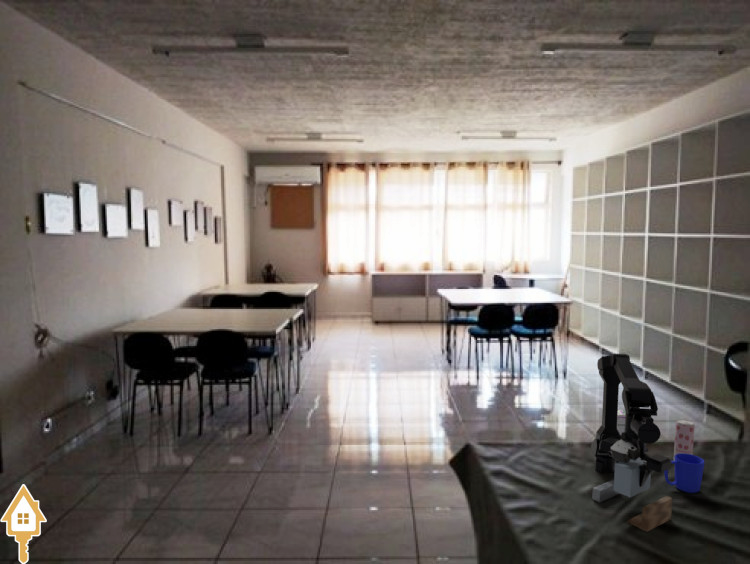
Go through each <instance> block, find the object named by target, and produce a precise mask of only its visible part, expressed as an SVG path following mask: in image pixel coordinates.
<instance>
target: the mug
mask: <svg viewBox="0 0 750 564" xmlns="http://www.w3.org/2000/svg"><path fill="white" fill-rule="evenodd" d="M673 459H675V461H673V460H671V462H672V465H674V481H673V482H671V481H670V480H669V475H668V473H669V471H668V470H669V469H668V470H666V471H663V472H664V473H663V474H664V478H665V482H666V483H667V484H668V485H670V486H675V487H676V488H677V489H678V490H679V491H682V492H685V493H687V494H688V493H690V494H695V493H699V491H700V490H701V487H702V486H701V485H702V480H703V473H704V468H705V460H704V459H703V458H701V457H700V456H697V455H694V454H693V455H691V454H684V453H680V454H676V455H675V456H674V455H673Z"/></svg>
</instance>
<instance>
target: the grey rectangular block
mask: <svg viewBox="0 0 750 564" xmlns="http://www.w3.org/2000/svg"><path fill="white" fill-rule="evenodd" d="M620 494H621V493H618V492H616V491H614V479H611V480H609V481H606V482H604V483H602V484H599V485H596V486H593V487H592V494H591V495H592V497H591V499H592V500H593V501H595V502H597V503H601V502H605V501H606V500H608V499H611V498H613V497H615V496H618V495H620Z"/></svg>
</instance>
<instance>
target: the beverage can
mask: <svg viewBox="0 0 750 564" xmlns="http://www.w3.org/2000/svg"><path fill="white" fill-rule="evenodd" d="M674 433H675V434H674V435H675V436H674V447H673V448H674V449H673V457H674V456H675V455H676V454H680V453H684V454H691V455H694V452H693V451H694V439H695V423H694V421H691V420H688V419H683V418H682V419H677V420H676V423H675V432H674ZM672 461H675V459H674V458H673V460H672Z"/></svg>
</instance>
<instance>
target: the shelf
mask: <svg viewBox="0 0 750 564" xmlns="http://www.w3.org/2000/svg"><path fill="white" fill-rule="evenodd" d="M672 506H673V498H672V497H670V496H668V495H666V496H664V497H663V496H662V498H660V499H657V500H654V501H653V502H651V503H649V504H647V505H645V506H642V512H641V513H639V514H638V515H636V516H634V517H632V518H628V519H627V520H625V523H628V524H630V525H632V526H634V527H636V528H638V529H641V530H643V531H645V532H646V533H648V532H650V531H651V530H653V529H656V528H657V527H659V526H661V525H663V524H665V523H667V522H669V521H670V520H671V519H672V510H673V509H672ZM671 521H672V520H671Z"/></svg>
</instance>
